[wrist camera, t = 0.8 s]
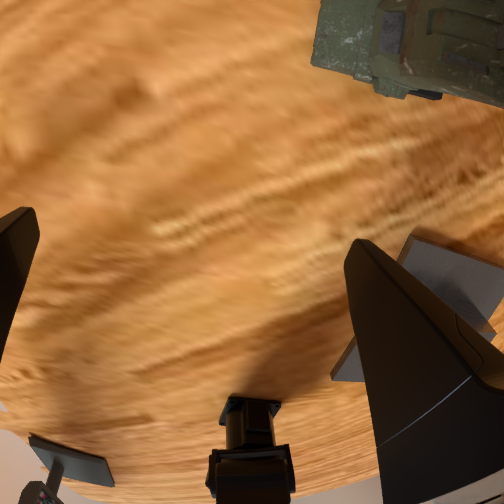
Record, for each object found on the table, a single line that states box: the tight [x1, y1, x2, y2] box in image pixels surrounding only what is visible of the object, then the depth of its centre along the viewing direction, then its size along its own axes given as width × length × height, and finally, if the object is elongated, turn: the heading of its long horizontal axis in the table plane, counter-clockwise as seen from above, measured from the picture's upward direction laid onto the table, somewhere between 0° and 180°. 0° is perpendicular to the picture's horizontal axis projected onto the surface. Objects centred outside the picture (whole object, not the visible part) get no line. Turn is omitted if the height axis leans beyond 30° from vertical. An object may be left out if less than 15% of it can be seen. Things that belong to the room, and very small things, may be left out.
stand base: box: [330, 235, 504, 382], centre depth 28 cm, size 18×18×7 cm
